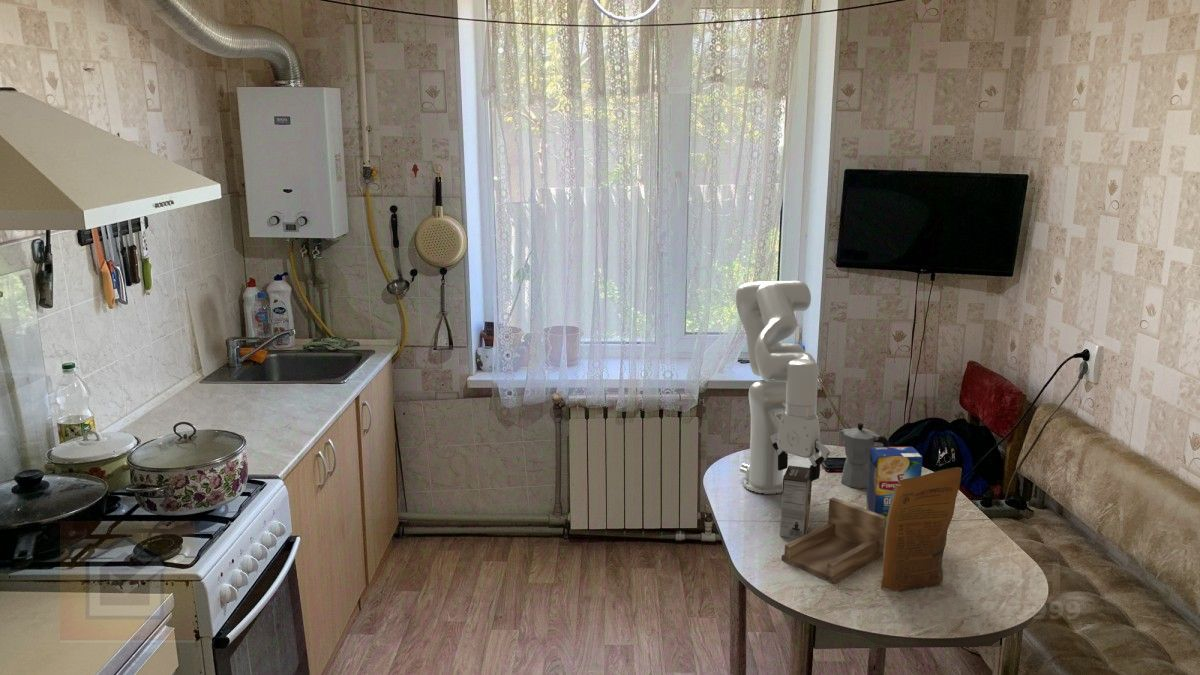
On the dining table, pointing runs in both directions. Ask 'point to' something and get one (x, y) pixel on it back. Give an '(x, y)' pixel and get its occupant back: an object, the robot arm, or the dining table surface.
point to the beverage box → (889, 474)
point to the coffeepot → (858, 455)
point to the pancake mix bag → (919, 530)
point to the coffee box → (795, 502)
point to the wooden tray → (839, 542)
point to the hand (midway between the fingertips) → (798, 474)
